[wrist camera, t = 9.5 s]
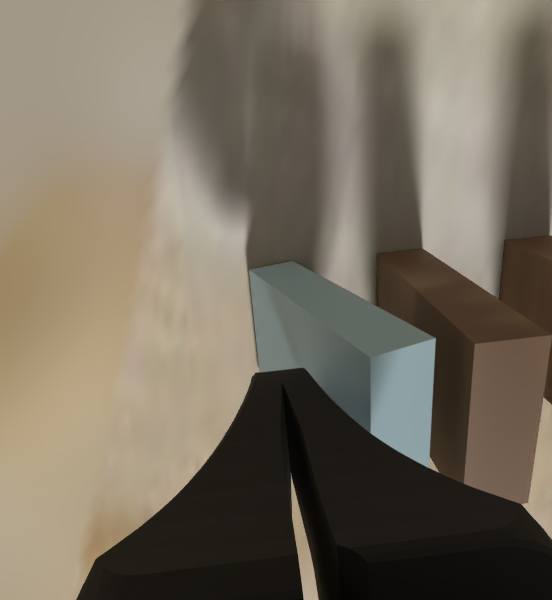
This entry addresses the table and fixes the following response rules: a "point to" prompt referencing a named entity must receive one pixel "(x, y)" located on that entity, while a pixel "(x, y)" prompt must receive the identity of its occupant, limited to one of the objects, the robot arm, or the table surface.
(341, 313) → the teal domino
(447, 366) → the domino
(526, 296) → the domino
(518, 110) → the table surface
